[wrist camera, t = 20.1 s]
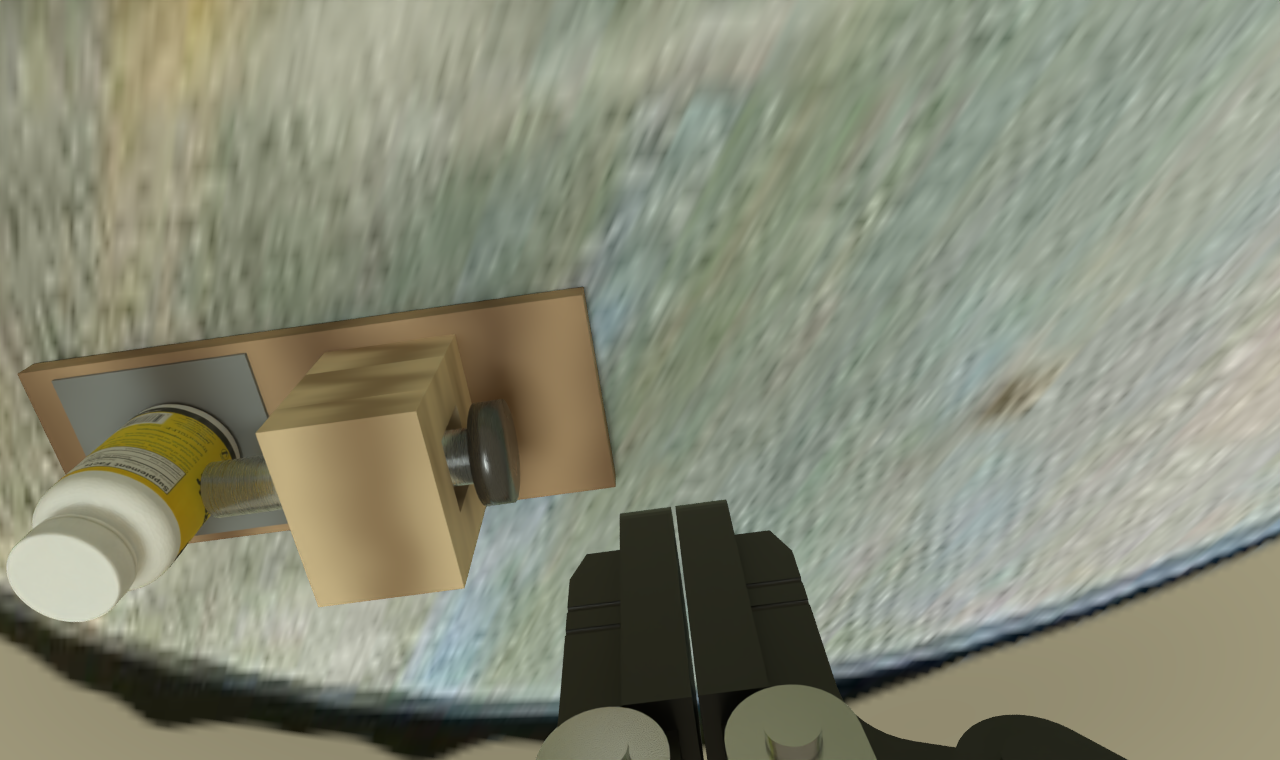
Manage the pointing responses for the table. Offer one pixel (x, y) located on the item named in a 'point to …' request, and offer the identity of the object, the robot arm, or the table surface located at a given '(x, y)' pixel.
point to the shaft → (469, 452)
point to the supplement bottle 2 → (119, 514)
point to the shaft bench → (496, 367)
